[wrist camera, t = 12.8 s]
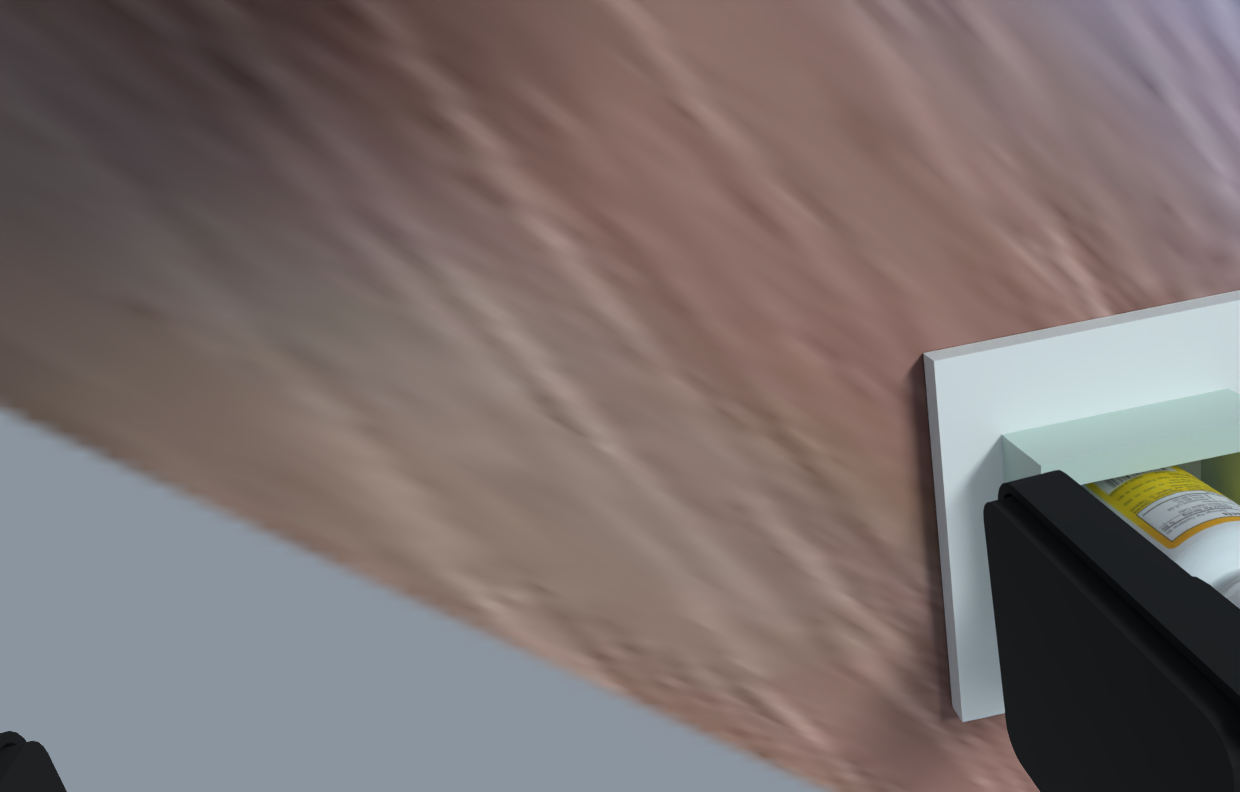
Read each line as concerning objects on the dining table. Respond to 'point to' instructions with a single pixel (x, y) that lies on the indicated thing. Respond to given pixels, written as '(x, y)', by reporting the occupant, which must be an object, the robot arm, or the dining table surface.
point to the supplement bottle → (1181, 522)
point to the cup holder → (1070, 437)
